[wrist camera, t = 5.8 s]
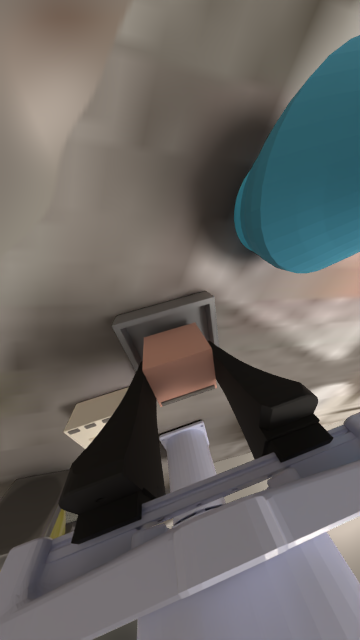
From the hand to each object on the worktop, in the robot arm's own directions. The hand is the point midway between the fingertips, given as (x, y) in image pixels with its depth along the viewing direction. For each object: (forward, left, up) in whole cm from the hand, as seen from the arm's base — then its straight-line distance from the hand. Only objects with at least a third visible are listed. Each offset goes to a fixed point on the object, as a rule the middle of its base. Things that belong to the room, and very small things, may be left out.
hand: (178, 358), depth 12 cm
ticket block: (-10, +10, -4) cm, 15 cm away
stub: (0, 0, -2) cm, 2 cm away
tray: (0, 0, -4) cm, 4 cm away
